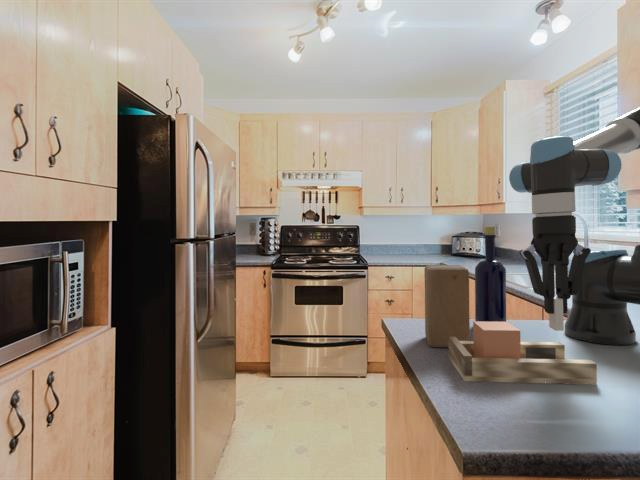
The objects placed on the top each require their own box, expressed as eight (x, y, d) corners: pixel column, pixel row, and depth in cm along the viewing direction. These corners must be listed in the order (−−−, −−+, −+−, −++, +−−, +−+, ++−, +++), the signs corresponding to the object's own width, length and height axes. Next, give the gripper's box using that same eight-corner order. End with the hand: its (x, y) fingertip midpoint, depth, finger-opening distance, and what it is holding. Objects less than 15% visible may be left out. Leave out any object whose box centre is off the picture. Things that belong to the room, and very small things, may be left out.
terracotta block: (506, 357, 80) (506, 321, 80) (520, 370, 73) (520, 330, 73) (473, 357, 81) (473, 321, 81) (484, 369, 74) (483, 330, 74)
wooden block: (470, 349, 90) (469, 268, 89) (428, 347, 92) (427, 268, 91) (463, 337, 100) (462, 264, 99) (425, 336, 102) (424, 264, 101)
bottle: (514, 331, 104) (513, 226, 103) (481, 332, 104) (480, 227, 103) (498, 323, 113) (498, 226, 112) (468, 323, 114) (467, 227, 113)
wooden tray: (559, 359, 82) (559, 337, 82) (596, 384, 69) (596, 358, 69) (448, 357, 85) (448, 336, 84) (464, 381, 72) (464, 356, 72)
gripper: (576, 213, 78) (579, 323, 79) (512, 217, 79) (515, 324, 80) (599, 212, 70) (602, 333, 71) (527, 216, 72) (531, 334, 73)
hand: (556, 328), depth 76 cm, fingers closed
